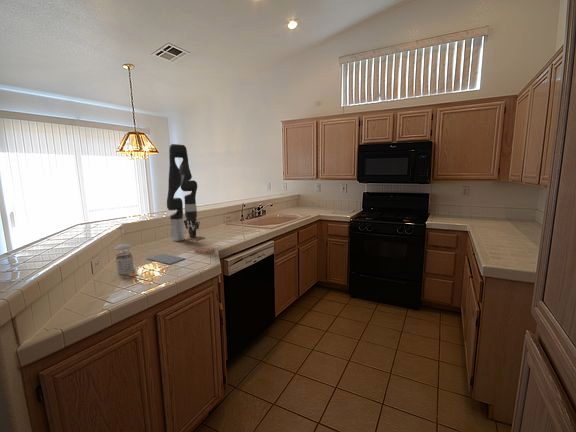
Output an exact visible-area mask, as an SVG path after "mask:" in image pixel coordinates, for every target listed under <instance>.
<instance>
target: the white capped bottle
mask: <svg viewBox="0 0 576 432" xmlns="http://www.w3.org/2000/svg"><path fill="white" fill-rule="evenodd" d="M122 229H124V228H123V226H119V227H118V230H122ZM120 236H121V238H123V233H122V231H120ZM121 241H122V242H121V243H120V244H118V245H116V246H115V247H114V250H115V251H122V252H120V253H117V254H116V258H115V261H116V263H115V264H116V272H115V275H121V274H122V275H127V274H131V273H133V272H136V268H135V266H134V261H133V260H134V259H133V255H132V252H130V251H129V250H127V249H130V248H131V247H132V245H131V244H129V243H123V242H124V241H123V240H121ZM125 250H127V252H126V251H125Z"/></svg>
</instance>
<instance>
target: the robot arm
mask: <svg viewBox="0 0 576 432" xmlns="http://www.w3.org/2000/svg"><path fill="white" fill-rule="evenodd" d="M168 151H169V153H168V154H169V167H168V188H167V189H168V191H167V197H166V198H167V199H166V208H167V210H168V211H175V212H174V213H172V214H171V215H170V216H169V218H170V227H171V228H170V239H171V241H173V242H181V241H185V229H187V230H188V231H189V229H191V228H192V230H193V236H195V235H196V236H197V230H198V229H199V227H200V225H201V221H200V220H199V221H198V219H197V217H198V212H197V211H198V210H197V201H196V196H197V189H198V182H197V181H196V180H193V178H192V177H193V176H192V173H191V169H190V164H189V157H188V150H187V147H186V145H184V144H180V143H179V144H178V143H176V144H175V143H171V144H170V145H169V150H168ZM176 158H177V159H182V161H181V163H180V165H179V167H178V165H177V163H176ZM179 189H181V190H182V192H190V193H189V194H186V195H184V197H183V199H184V207H183V200H182V198H181V197H175V194H176V193H177V192H178V190H179ZM183 208H184V209H183ZM184 215H185V218H186V219H185V220H184ZM184 226H185V227H184Z"/></svg>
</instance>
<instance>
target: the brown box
mask: <svg viewBox="0 0 576 432" xmlns="http://www.w3.org/2000/svg"><path fill="white" fill-rule="evenodd" d="M188 234H189V237H187V238H186V239H187V240H190V241H194V242H195V241H196V242H198V241H203V240H206V237H205V236H197V234H196V235H195V236H193V230H192V228H191V229H189V230H188Z"/></svg>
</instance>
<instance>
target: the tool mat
mask: <svg viewBox="0 0 576 432" xmlns="http://www.w3.org/2000/svg"><path fill="white" fill-rule="evenodd" d="M146 260H148V261H153V262H158V263H161V264H165V265H173V264H176V263H179V262H181V261H185V260H186V258H185V257H181V256H176V255H171V254H165V253H159V254H157V255H153V256H149V257H147V258H146Z"/></svg>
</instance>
